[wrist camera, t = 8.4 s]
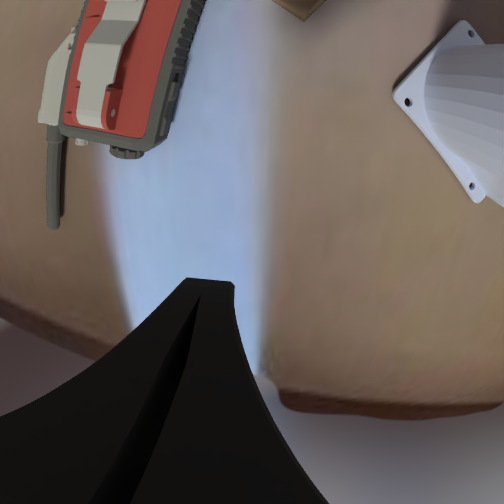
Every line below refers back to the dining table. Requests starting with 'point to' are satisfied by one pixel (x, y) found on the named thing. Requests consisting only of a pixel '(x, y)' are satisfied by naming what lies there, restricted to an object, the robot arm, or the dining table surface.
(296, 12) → the key base
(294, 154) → the dining table surface
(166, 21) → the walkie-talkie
